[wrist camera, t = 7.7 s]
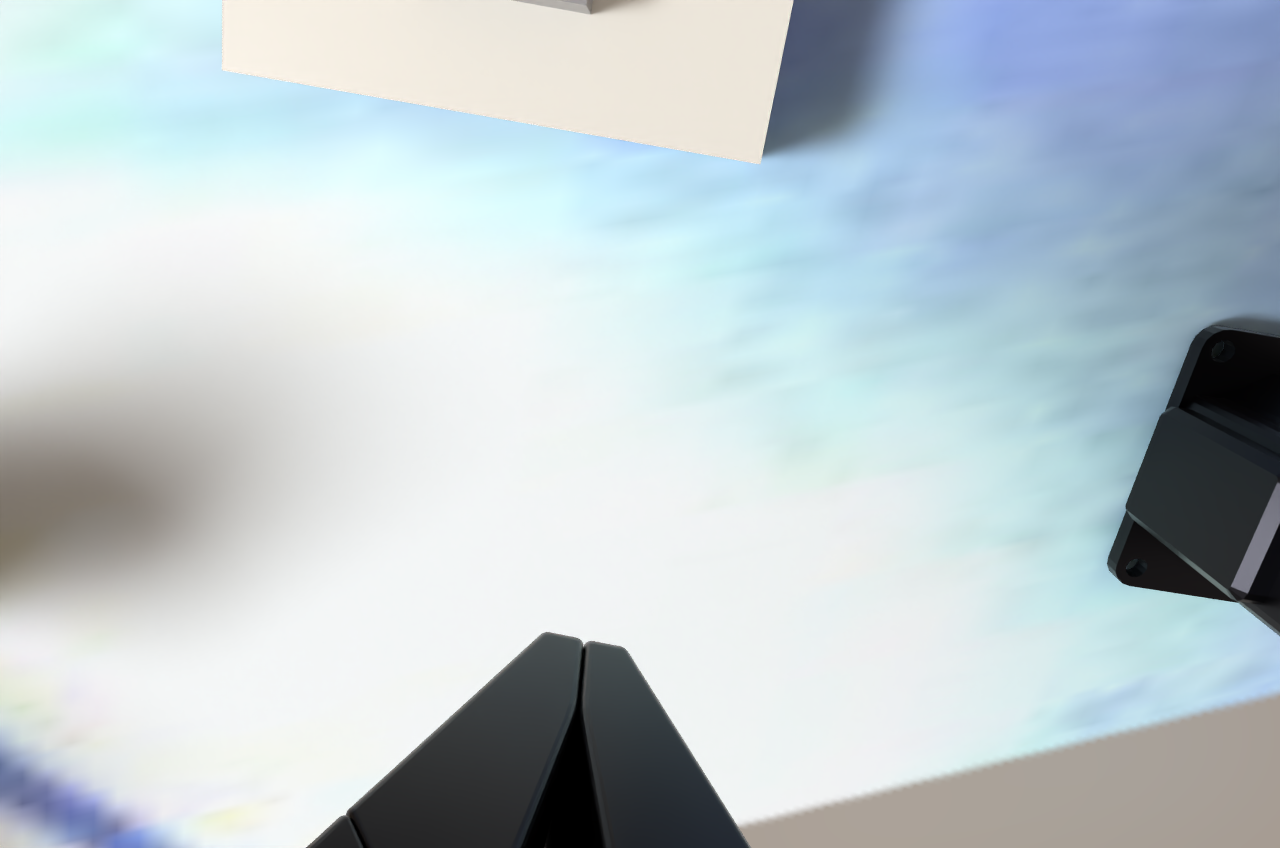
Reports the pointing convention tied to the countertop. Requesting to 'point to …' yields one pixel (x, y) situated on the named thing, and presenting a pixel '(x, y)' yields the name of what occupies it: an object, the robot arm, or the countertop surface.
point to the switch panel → (537, 61)
